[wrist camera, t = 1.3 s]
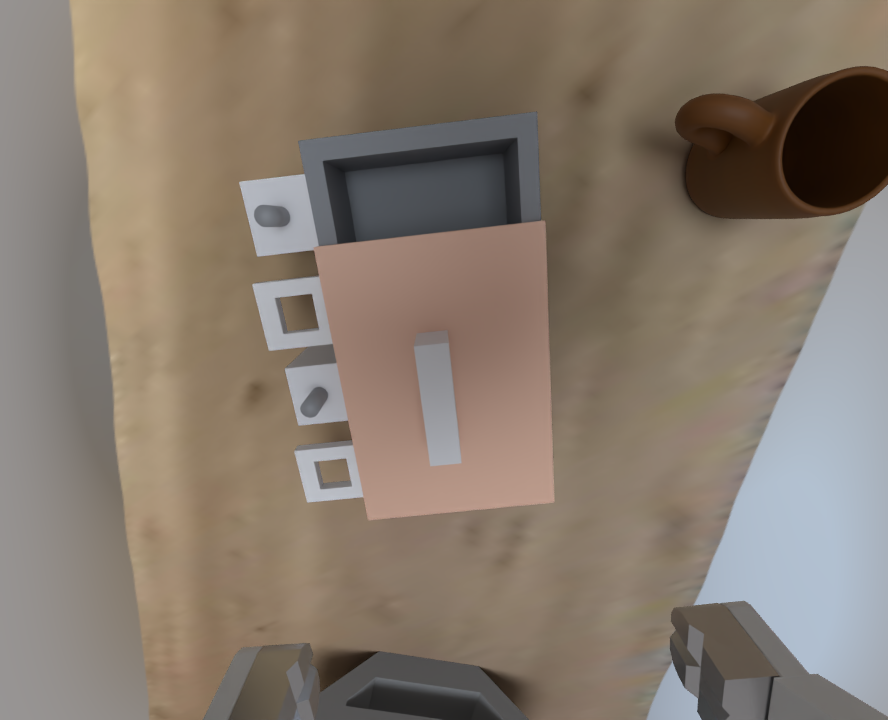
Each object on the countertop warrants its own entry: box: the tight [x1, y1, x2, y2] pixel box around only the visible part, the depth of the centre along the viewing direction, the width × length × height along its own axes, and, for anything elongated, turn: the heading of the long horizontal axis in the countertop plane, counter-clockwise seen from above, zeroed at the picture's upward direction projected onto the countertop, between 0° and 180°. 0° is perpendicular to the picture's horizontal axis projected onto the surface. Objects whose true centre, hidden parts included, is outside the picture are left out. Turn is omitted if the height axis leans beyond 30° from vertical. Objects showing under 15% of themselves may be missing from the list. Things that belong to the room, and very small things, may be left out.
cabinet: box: [239, 112, 541, 426], centre depth 30 cm, size 20×18×9 cm
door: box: [252, 221, 554, 520], centre depth 27 cm, size 20×18×4 cm
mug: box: [675, 66, 888, 219], centre depth 27 cm, size 12×8×9 cm, turn 74°
